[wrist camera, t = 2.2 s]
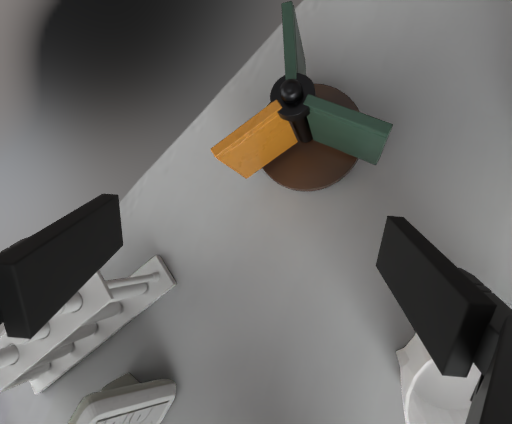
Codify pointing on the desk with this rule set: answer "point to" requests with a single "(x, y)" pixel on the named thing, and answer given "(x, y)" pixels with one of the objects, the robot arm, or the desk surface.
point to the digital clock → (127, 402)
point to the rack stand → (313, 155)
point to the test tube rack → (81, 326)
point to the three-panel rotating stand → (299, 118)
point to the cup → (432, 388)
